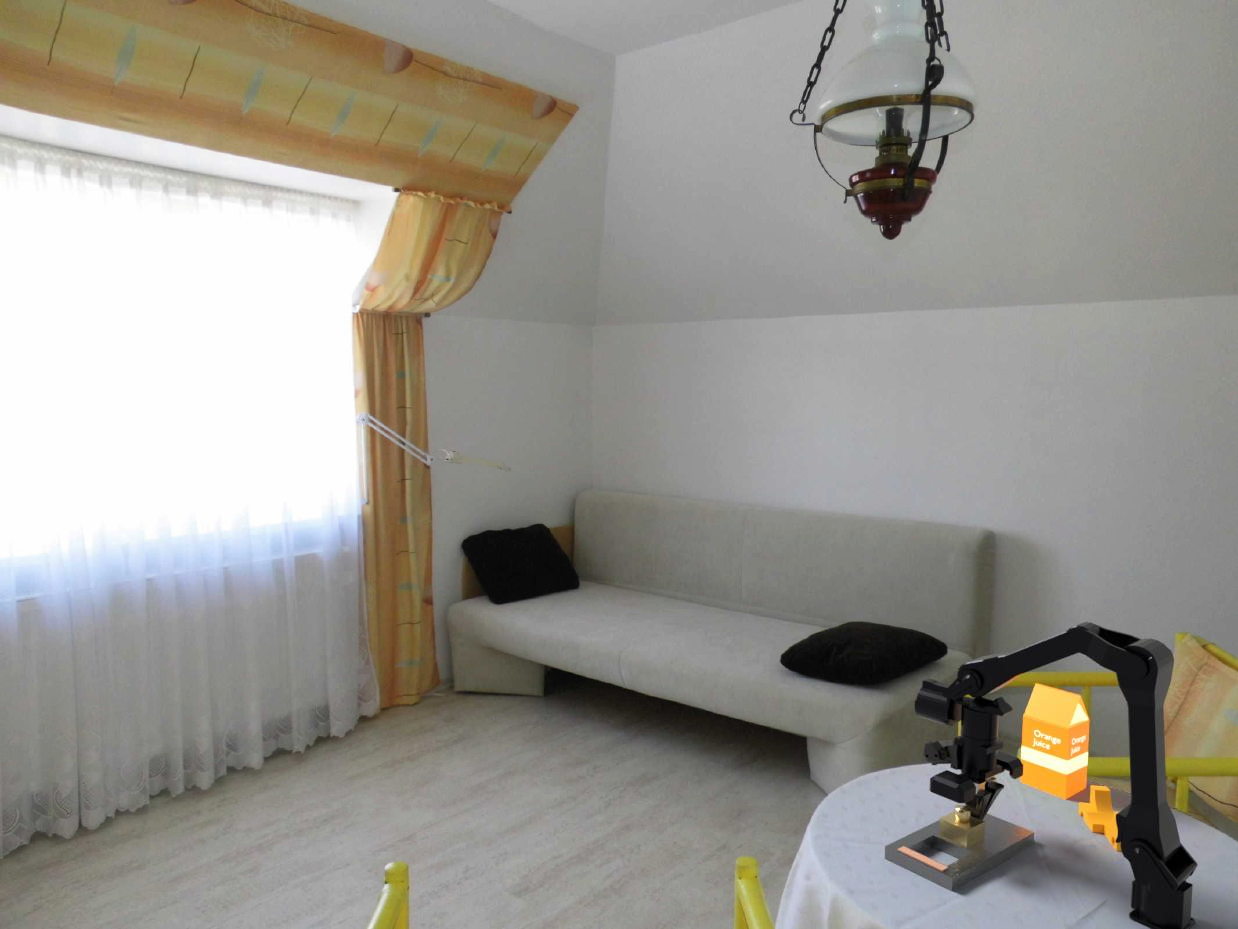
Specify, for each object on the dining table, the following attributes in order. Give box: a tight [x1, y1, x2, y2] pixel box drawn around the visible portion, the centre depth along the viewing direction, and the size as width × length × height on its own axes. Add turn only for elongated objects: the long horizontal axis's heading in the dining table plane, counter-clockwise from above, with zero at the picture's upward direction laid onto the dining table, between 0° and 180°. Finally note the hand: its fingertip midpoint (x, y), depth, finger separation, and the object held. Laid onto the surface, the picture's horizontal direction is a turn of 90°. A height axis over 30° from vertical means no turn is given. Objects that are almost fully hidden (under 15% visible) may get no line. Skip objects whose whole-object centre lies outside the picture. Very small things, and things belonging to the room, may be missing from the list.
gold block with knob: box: [939, 804, 985, 848], centre depth 148 cm, size 5×5×5 cm
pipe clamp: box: [1078, 784, 1122, 852], centre depth 153 cm, size 12×4×6 cm, turn 172°
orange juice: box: [1019, 682, 1091, 801], centre depth 169 cm, size 8×9×20 cm
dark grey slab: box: [884, 813, 1035, 892], centre depth 148 cm, size 12×24×2 cm, turn 128°
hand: (975, 825), depth 150 cm, fingers closed
